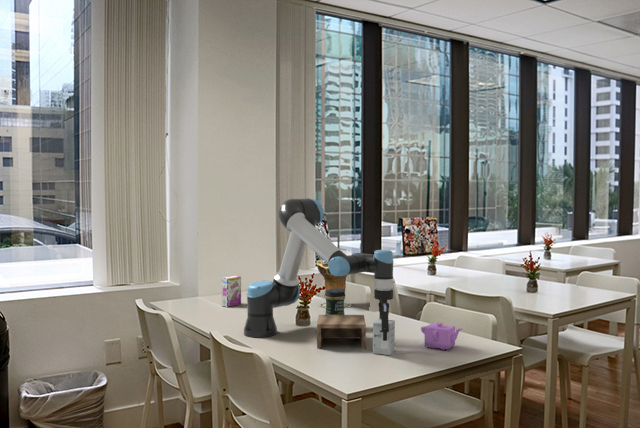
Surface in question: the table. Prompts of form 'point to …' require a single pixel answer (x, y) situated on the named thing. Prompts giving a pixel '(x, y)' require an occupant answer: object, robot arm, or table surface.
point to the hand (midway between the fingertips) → (383, 345)
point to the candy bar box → (231, 291)
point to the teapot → (440, 335)
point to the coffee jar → (335, 301)
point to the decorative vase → (331, 280)
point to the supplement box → (377, 337)
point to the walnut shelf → (341, 327)
